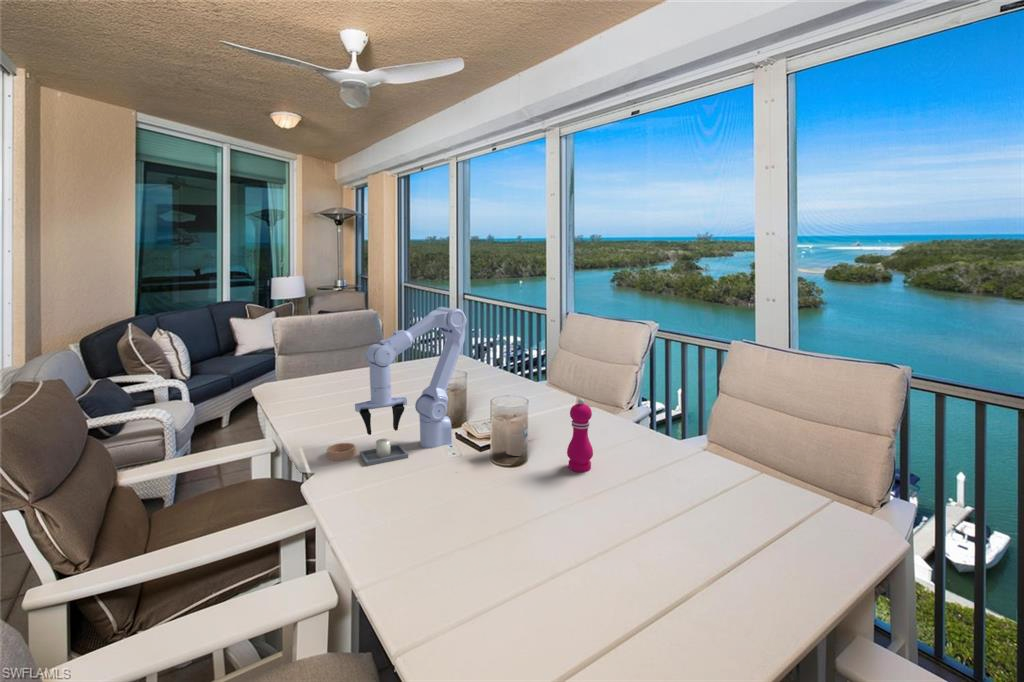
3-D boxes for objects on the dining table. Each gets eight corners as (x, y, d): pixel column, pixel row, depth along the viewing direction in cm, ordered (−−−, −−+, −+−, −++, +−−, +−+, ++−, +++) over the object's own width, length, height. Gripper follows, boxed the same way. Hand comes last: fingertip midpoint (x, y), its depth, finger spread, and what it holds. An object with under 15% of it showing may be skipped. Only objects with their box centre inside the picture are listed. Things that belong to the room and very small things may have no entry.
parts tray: (399, 450, 150) (399, 444, 149) (408, 460, 142) (408, 453, 142) (359, 457, 144) (359, 451, 144) (366, 468, 136) (366, 462, 136)
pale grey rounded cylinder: (388, 453, 145) (388, 437, 145) (392, 457, 142) (391, 441, 141) (375, 455, 144) (374, 440, 143) (378, 460, 140) (377, 444, 139)
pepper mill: (595, 464, 139) (597, 396, 136) (588, 474, 132) (590, 403, 129) (571, 460, 142) (572, 394, 139) (563, 470, 135) (564, 400, 132)
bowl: (352, 450, 150) (352, 441, 149) (358, 459, 143) (357, 449, 142) (325, 455, 146) (325, 445, 145) (330, 464, 139) (329, 454, 138)
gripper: (401, 380, 146) (402, 423, 149) (351, 386, 139) (354, 431, 141) (408, 385, 140) (410, 430, 142) (357, 391, 133) (359, 439, 135)
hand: (382, 431), depth 142 cm, fingers open, 7 cm apart
